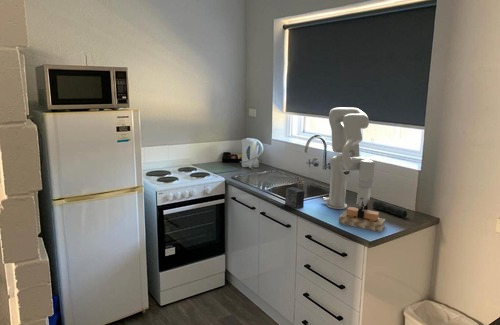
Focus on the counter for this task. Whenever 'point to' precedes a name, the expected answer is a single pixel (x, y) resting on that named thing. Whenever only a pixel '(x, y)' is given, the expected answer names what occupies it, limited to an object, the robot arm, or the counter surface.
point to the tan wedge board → (368, 214)
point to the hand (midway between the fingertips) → (362, 215)
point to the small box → (294, 197)
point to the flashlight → (389, 209)
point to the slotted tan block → (362, 222)
